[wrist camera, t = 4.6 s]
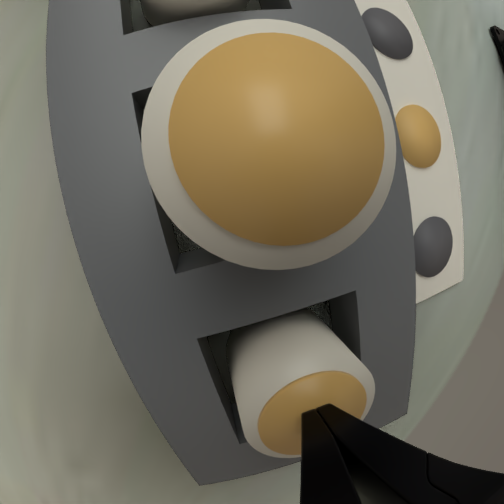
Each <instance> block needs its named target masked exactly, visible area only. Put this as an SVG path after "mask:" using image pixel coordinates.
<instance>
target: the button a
mask: <svg viewBox="0 0 504 504" xmlns="http://www.w3.org/2000/svg"><path fill="white" fill-rule="evenodd" d="M248 1H249V0H140V3H141V6H142V10H143V14H144V16H145V18H146V19H147V21H148V22H149V23H150V24H151V25H152V26H158V25H162V24H166V23H171V22H175V21H180V20H185V19H190V18H196V17H202V16H208V15H215V14H223V13H231V12H241V11H245V9H246V7H247V4H248Z"/></svg>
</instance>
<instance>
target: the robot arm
mask: <svg viewBox="0 0 504 504" xmlns="http://www.w3.org/2000/svg"><path fill="white" fill-rule="evenodd" d="M490 29H491V32H492V35H493V37H494V39H495V42H496V44H497V47H498V49H499V52H500V55H501V58H502V60H503V63H504V31H503V30H502V29H500V28H498V27H496V26H492V27H490ZM300 504H504V474H503V473H497V472H492V471H486V470H481V469H477V468H472V467H468V466H464V465H460V464H457V463H454V462H451V461H448V460H446V459H443V458H440V457H438V456H435V455H433V454H431V453H427V452H426V451H424V450H422V449H419V448H417V447H415V446H413V445H411V444H409V443H406V442H404V441H402V440H400V439H398V438H396V437H394V436H392V435H390V434H388V433H386V432H384V431H382V430H380V429H378V428H376V427H374V426H372V425H370V424H368V423H366V422H364V421H362V420H360V419H358V418H356V417H355V416H353V415H351V414H349V413H347V412H345V411H343V410H342V409H340V408H338V407H336V406H334V405H333V404H330V403H328V404H325V405H322V406H320V407H317V408H316V409H311V410H309V411H306V412H303V413H302V414H301V488H300Z"/></svg>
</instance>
